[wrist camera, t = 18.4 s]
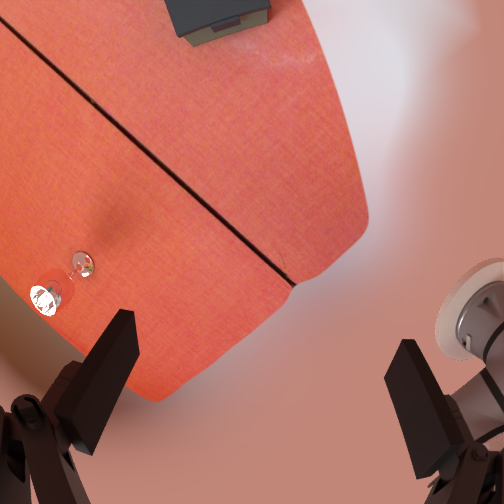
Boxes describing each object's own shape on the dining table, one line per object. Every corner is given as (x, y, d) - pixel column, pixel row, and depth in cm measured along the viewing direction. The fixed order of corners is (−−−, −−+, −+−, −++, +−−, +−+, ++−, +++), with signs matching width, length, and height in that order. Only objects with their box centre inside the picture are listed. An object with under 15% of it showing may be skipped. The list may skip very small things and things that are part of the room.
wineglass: (72, 277, 47) (34, 314, 36) (67, 246, 45) (24, 279, 34) (99, 281, 47) (62, 322, 36) (94, 249, 45) (53, 285, 34)
